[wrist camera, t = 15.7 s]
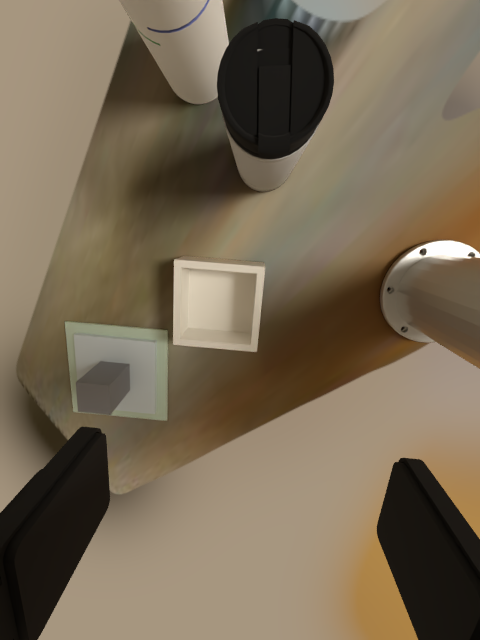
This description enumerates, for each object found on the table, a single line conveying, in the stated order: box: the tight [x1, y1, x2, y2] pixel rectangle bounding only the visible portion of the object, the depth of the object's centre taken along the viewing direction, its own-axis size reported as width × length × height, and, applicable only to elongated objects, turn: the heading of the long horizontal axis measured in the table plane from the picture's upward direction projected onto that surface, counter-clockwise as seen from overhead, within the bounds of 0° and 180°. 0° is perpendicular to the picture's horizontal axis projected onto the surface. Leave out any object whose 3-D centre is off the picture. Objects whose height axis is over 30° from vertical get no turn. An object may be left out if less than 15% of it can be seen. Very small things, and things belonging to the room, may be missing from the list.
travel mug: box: [217, 18, 334, 192], centre depth 25 cm, size 6×7×20 cm
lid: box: [74, 333, 157, 415], centre depth 39 cm, size 11×11×7 cm
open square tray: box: [173, 256, 265, 352], centre depth 37 cm, size 10×10×5 cm
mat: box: [65, 321, 168, 421], centre depth 43 cm, size 14×14×1 cm
